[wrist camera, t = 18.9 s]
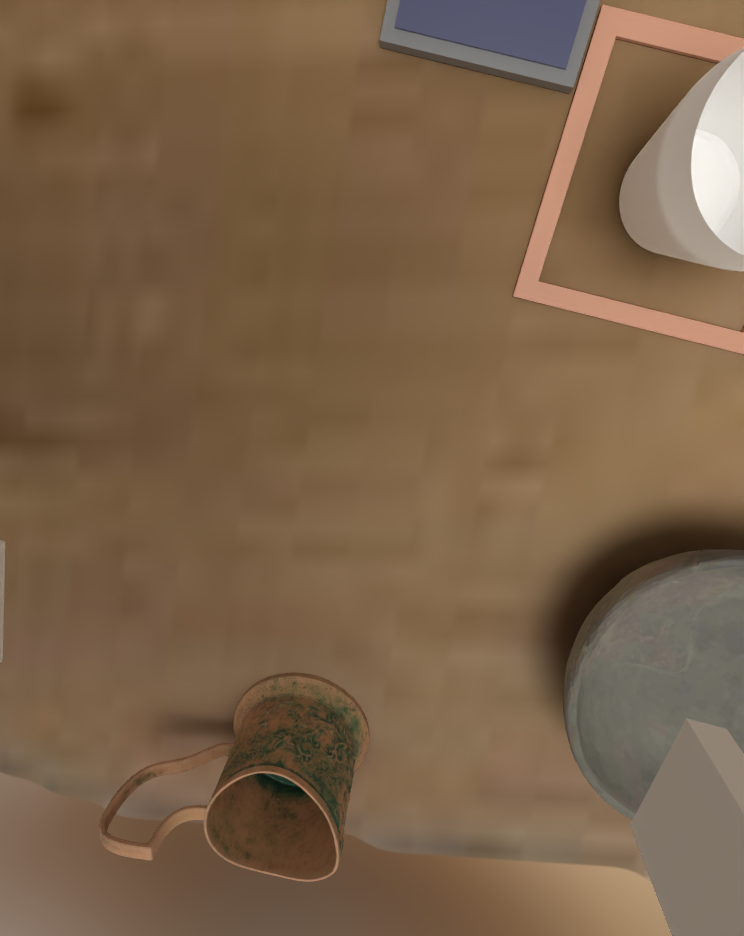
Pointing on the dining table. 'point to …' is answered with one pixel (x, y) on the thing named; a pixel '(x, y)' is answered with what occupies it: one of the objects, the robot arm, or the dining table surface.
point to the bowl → (655, 669)
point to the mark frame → (606, 30)
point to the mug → (271, 781)
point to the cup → (693, 175)
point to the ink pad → (495, 36)
